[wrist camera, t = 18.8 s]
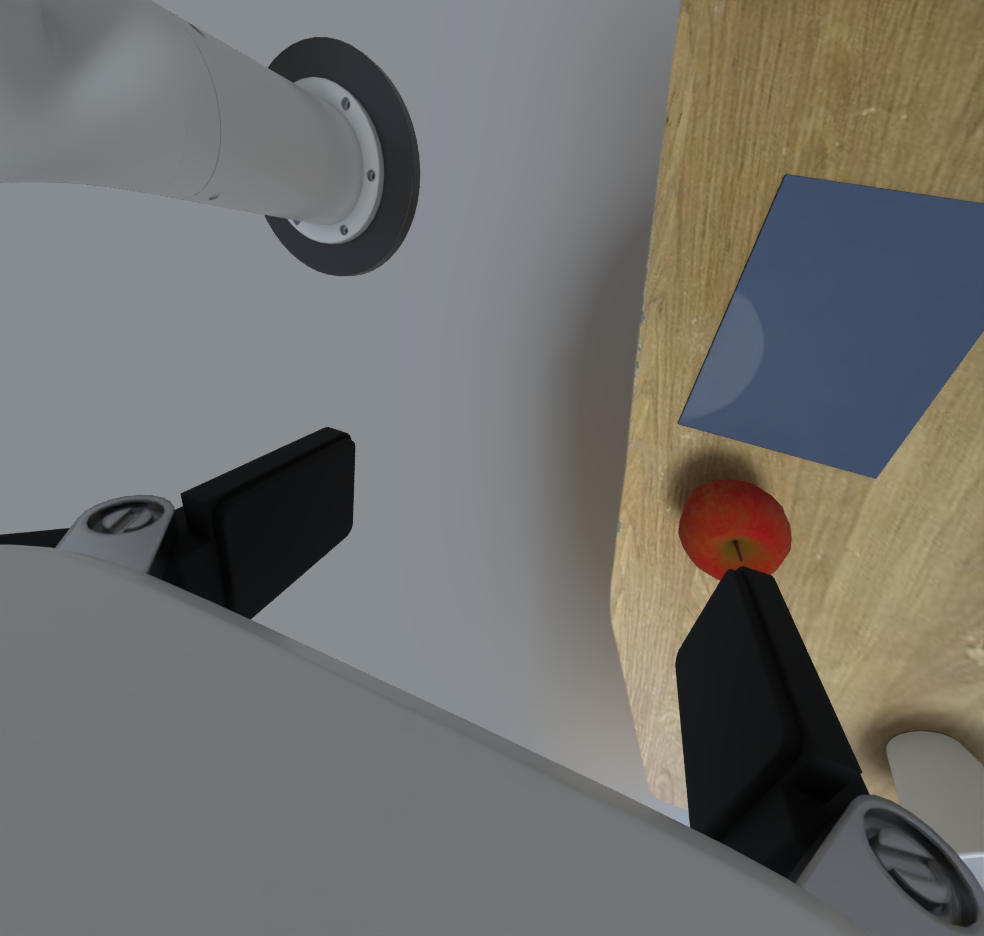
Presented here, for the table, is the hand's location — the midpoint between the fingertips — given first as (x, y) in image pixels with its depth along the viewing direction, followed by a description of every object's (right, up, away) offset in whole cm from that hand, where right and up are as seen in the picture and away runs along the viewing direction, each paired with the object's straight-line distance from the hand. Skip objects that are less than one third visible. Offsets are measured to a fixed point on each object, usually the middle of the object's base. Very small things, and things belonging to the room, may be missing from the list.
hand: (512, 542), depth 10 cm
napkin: (+27, +12, +23) cm, 38 cm away
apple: (+22, -1, +31) cm, 38 cm away
